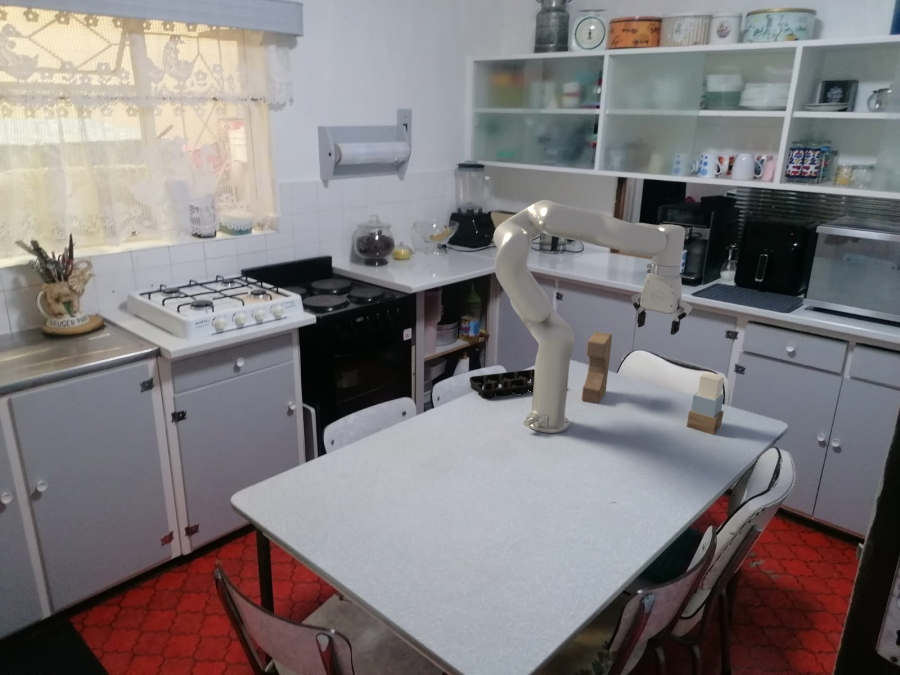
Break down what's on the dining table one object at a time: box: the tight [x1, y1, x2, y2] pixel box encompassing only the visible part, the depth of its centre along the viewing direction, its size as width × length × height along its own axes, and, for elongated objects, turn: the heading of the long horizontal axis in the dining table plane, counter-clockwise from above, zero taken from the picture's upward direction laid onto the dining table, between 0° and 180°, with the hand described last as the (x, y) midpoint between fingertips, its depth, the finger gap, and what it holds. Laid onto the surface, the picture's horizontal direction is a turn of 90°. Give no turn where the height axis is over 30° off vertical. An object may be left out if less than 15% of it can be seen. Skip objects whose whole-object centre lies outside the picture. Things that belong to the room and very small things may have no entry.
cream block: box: [697, 371, 725, 400], centre depth 186 cm, size 5×5×6 cm
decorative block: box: [581, 331, 613, 405], centre depth 206 cm, size 11×6×20 cm, turn 155°
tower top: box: [690, 391, 725, 418], centre depth 188 cm, size 6×6×5 cm
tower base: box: [686, 409, 725, 435], centre depth 190 cm, size 8×8×5 cm
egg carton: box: [469, 368, 535, 400], centre depth 214 cm, size 18×30×4 cm, turn 123°
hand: (657, 329), depth 184 cm, fingers open, 9 cm apart
